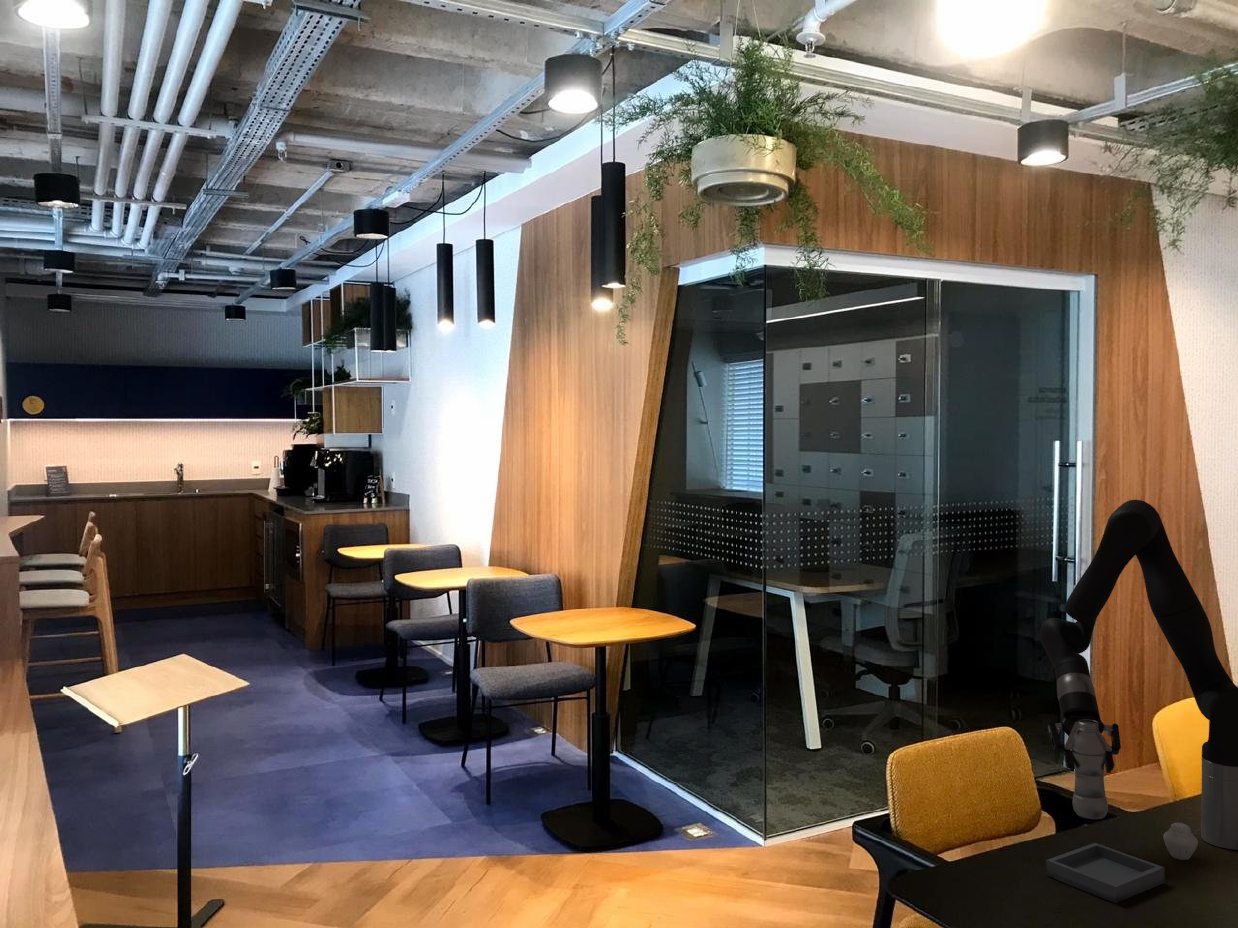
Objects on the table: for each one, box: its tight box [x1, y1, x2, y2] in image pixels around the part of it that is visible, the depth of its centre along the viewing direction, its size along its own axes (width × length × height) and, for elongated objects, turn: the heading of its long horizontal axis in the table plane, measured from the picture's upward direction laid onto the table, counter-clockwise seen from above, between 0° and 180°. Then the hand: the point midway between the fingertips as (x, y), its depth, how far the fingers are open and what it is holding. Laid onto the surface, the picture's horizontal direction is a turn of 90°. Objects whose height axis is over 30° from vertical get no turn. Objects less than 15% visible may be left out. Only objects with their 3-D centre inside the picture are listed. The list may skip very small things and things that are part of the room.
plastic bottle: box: [1071, 719, 1109, 820], centre depth 205 cm, size 6×7×20 cm
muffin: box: [1162, 822, 1199, 861], centre depth 200 cm, size 6×6×7 cm
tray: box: [1045, 842, 1165, 904], centre depth 189 cm, size 16×14×3 cm
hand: (1090, 769), depth 203 cm, fingers closed on plastic bottle, 6 cm apart
